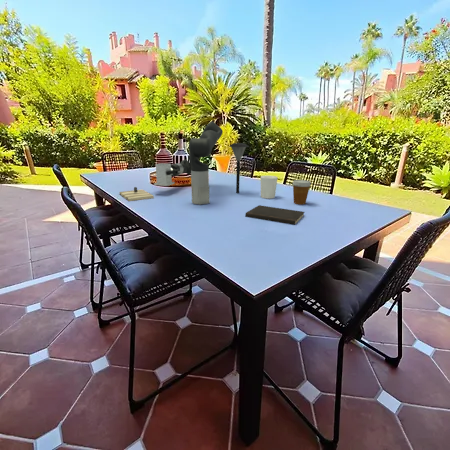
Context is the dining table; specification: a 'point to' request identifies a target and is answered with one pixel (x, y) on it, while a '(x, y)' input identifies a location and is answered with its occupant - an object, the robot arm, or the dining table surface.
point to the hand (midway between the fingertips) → (161, 173)
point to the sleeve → (163, 175)
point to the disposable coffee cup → (300, 191)
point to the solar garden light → (238, 159)
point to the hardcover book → (275, 214)
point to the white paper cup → (268, 186)
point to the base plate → (136, 195)
